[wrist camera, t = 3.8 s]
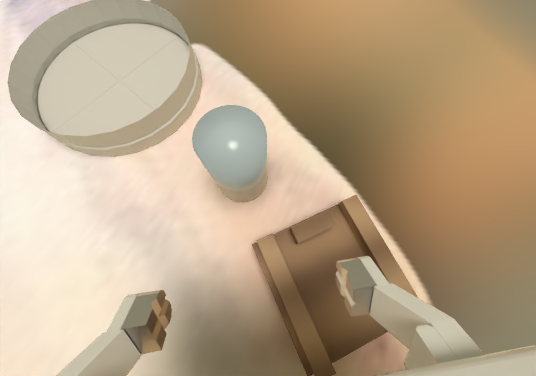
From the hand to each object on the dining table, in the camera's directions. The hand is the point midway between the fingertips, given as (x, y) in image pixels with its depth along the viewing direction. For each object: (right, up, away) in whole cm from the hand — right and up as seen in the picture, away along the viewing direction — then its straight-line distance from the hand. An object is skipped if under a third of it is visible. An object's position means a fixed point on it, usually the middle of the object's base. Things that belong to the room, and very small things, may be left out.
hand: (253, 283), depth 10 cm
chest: (+7, -5, +14) cm, 16 cm away
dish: (-20, +19, +22) cm, 35 cm away
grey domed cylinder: (-2, +6, +17) cm, 18 cm away
